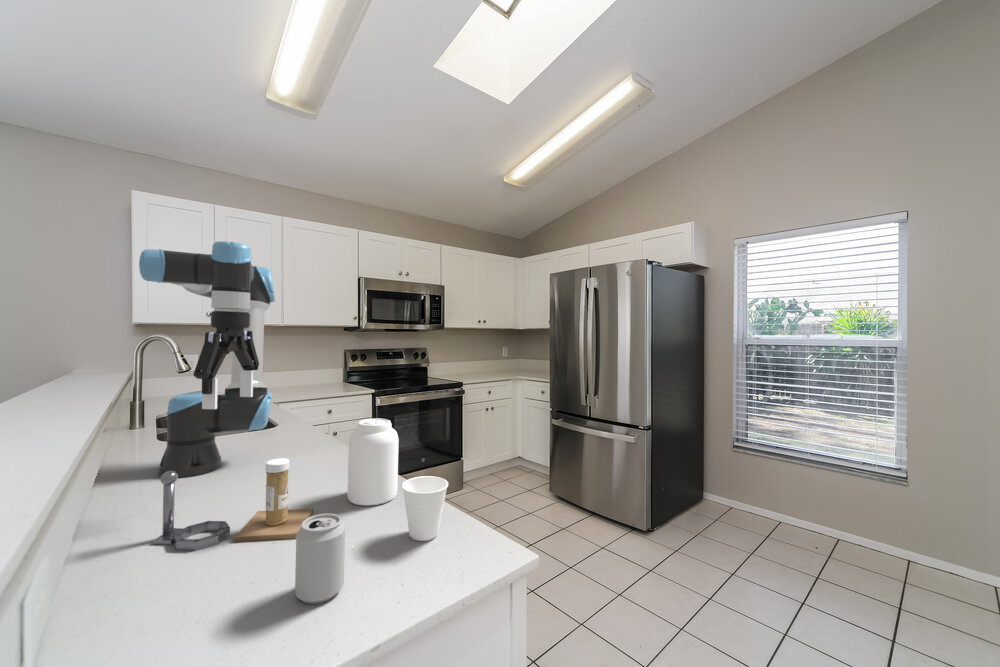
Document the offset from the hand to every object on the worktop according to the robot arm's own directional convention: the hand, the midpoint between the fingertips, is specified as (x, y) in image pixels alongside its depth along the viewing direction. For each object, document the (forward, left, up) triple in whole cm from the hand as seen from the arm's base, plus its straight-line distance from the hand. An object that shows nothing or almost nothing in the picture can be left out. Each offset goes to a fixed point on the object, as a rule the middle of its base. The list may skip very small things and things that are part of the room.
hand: (229, 402), depth 95 cm
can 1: (+27, +33, -26) cm, 50 cm away
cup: (+7, +47, -26) cm, 54 cm away
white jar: (-12, +30, -26) cm, 42 cm away
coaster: (+5, +14, -26) cm, 30 cm away
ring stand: (+11, 0, -26) cm, 28 cm away
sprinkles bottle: (+5, +14, -25) cm, 29 cm away
